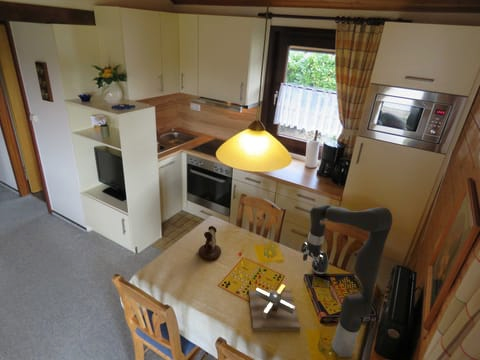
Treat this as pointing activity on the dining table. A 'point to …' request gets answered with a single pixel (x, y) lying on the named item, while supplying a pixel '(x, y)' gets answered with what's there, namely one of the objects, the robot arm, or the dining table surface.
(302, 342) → the dining table surface
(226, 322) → the dining table surface
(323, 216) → the robot arm
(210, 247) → the dark brown tall figurine
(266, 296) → the capstan
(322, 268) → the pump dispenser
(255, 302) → the level stand
